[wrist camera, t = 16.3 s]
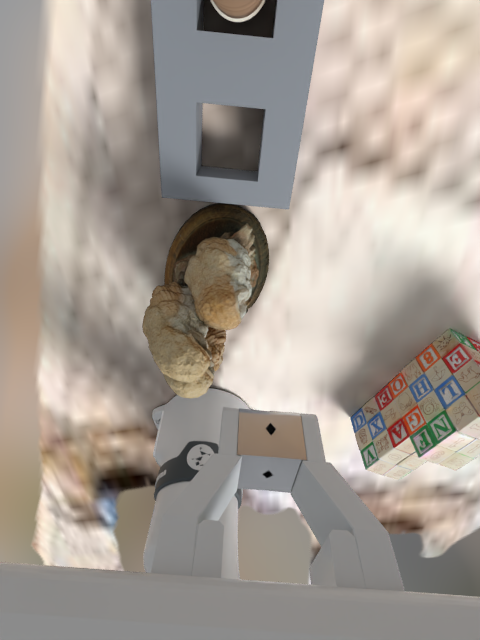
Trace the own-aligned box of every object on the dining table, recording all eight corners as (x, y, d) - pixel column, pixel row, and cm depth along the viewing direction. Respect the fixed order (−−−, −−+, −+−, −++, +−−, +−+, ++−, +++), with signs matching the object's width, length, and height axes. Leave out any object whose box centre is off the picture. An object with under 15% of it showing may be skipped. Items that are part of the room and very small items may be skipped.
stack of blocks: (379, 428, 57) (405, 502, 47) (349, 416, 56) (369, 491, 46) (483, 343, 46) (546, 417, 36) (448, 326, 44) (505, 399, 34)
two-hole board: (285, 196, 35) (288, 209, 32) (170, 185, 35) (161, 197, 32) (333, -100, 23) (345, -128, 20) (158, -120, 23) (142, -151, 20)
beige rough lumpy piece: (240, 339, 47) (233, 451, 33) (157, 318, 45) (112, 425, 32) (288, 219, 36) (305, 308, 23) (181, 185, 35) (131, 260, 21)
